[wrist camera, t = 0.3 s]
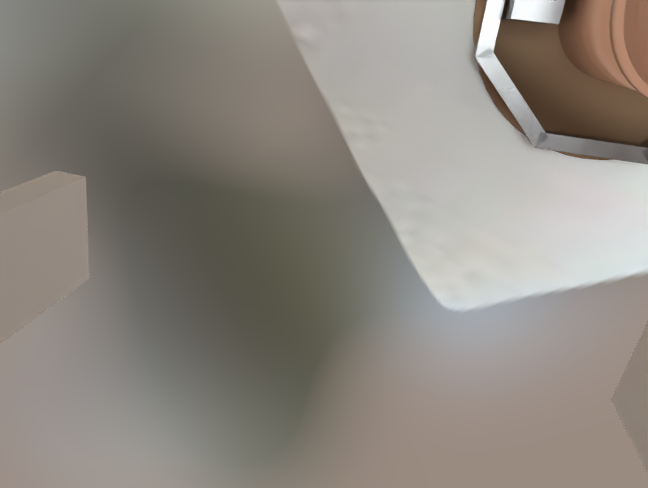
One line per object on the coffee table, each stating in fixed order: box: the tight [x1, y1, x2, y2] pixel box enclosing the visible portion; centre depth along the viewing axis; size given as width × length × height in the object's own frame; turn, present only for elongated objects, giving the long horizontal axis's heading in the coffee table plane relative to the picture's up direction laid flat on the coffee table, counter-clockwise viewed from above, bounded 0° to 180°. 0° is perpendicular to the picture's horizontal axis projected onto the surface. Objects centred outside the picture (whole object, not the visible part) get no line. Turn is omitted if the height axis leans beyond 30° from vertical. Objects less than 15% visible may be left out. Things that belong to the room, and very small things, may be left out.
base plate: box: [474, 0, 648, 160], centre depth 32 cm, size 18×18×1 cm
